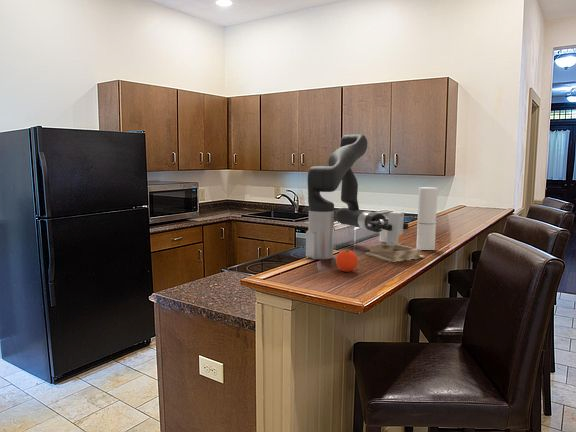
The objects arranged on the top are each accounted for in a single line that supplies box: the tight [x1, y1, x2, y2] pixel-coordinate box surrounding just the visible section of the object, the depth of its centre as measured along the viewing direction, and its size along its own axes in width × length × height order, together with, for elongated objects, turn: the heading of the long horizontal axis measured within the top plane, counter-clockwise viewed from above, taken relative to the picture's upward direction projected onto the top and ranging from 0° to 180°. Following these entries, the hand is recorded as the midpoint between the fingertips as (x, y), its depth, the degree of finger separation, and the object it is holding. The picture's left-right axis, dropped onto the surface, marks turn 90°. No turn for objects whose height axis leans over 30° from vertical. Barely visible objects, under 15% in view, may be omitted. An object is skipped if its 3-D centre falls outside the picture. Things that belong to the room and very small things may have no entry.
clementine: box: [335, 249, 359, 273], centre depth 144 cm, size 8×7×7 cm
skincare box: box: [386, 211, 405, 246], centre depth 168 cm, size 6×4×12 cm
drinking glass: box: [379, 217, 388, 244], centre depth 201 cm, size 7×7×10 cm
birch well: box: [364, 243, 426, 263], centre depth 169 cm, size 16×15×3 cm
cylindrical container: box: [415, 186, 439, 251], centre depth 182 cm, size 7×7×25 cm
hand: (399, 227), depth 166 cm, fingers closed on skincare box, 7 cm apart
